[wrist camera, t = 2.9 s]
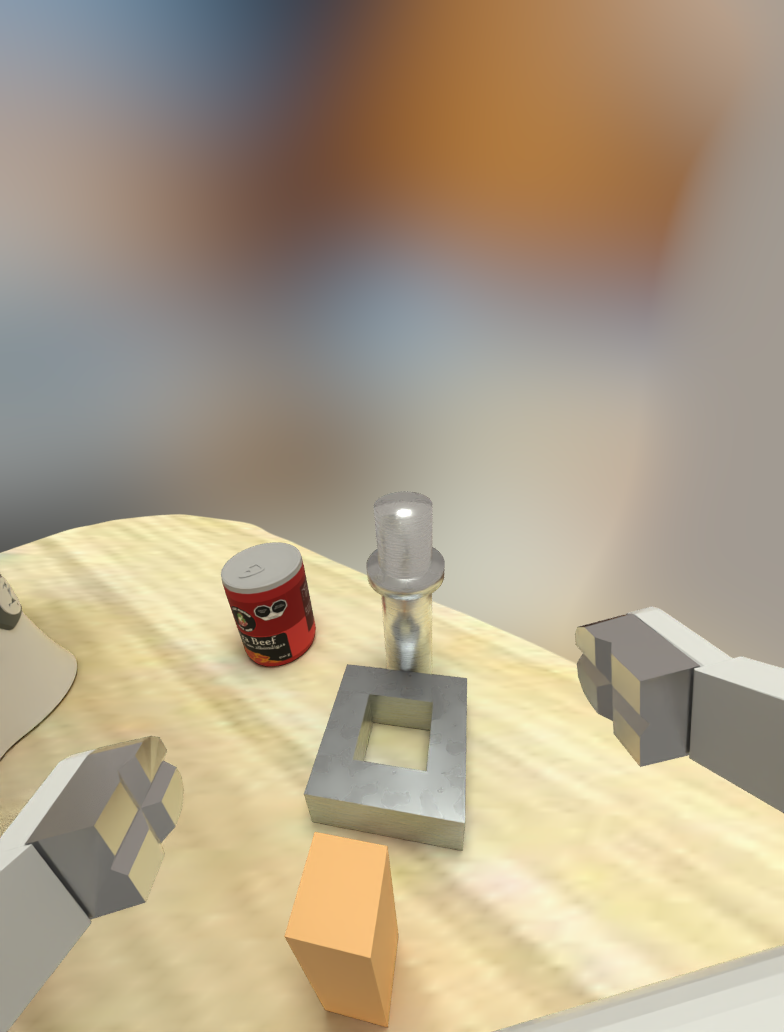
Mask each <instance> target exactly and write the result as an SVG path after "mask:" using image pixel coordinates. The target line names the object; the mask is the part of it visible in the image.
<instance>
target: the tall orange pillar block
mask: <svg viewBox="0 0 784 1032" xmlns="http://www.w3.org/2000/svg"><path fill="white" fill-rule="evenodd" d="M284 937H285V938H286V940H287V942H288V944H289V946H290V947H291V949H292V951H293V953H294V955H295V956H296V958H297V960H298V962H299V964H300V966H301V967H302V969H303V971H304V973H305V975H306V976H307V978H308V980H309V982H310V984H311V985H312V987H313V989H314V991H315V993H316V995H317V996H318V998H319V1000H320V1002H321V1004H322V1005H323V1007H324V1009H325V1010H327V1011H330V1012H334V1013H338V1014H341V1015H345V1016H348V1017H352V1018H355V1019H359V1020H363V1021H366V1022H370V1023H373V1024H377V1025H380V1026H384V1027H387V1028H388V1021H389V1012H390V1003H391V994H392V986H393V977H394V968H395V960H396V951H397V942H398V928H397V920H396V912H395V903H394V895H393V887H392V879H391V871H390V862H389V854H388V846H384V845H379V844H374V843H369V842H364V841H359V840H354V839H349V838H344V837H339V836H333V835H328V834H323V833H318V832H315V833H314V836H313V840H312V843H311V847H310V850H309V854H308V857H307V860H306V864H305V867H304V871H303V874H302V878H301V881H300V885H299V888H298V891H297V895H296V898H295V902H294V905H293V909H292V912H291V916H290V919H289V922H288V926H287V929H286V933H285V936H284Z"/></svg>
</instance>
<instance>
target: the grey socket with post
mask: <svg viewBox="0 0 784 1032" xmlns="http://www.w3.org/2000/svg"><path fill="white" fill-rule="evenodd" d="M374 514H375V525H376V537H377V549H376V550H375V551H374V552H373V553H372V554H371V555H370V556H369V558H368V560H367V576H368V582H369V584H370V586H371V587H372V588H373V589H374V590H375V591H376V592H377V593H379V594H380V595H381V600H382V612H383V624H384V637H385V649H386V661H387V669H383V668H374V667H365V666H357V665H348V664H347V667H346V670H345V673H344V676H343V679H342V682H341V685H340V688H339V691H338V694H337V697H336V700H335V703H334V706H333V709H332V712H331V715H330V718H329V721H328V724H327V727H326V730H325V733H324V736H323V739H322V742H321V745H320V748H319V751H318V754H317V757H316V760H315V763H314V766H313V769H312V772H311V775H310V778H309V781H308V784H307V787H306V790H305V793H304V796H305V799H306V802H307V805H308V808H309V812H310V815H311V818H312V821H313V822H317V823H322V824H327V825H332V826H337V827H343V828H348V829H353V830H358V831H363V832H368V833H374V834H379V835H384V836H389V837H394V838H400V839H405V840H410V841H415V842H420V843H425V844H431V845H436V846H441V847H446V848H451V849H456V850H462V851H463V840H464V829H465V788H466V715H467V678H460V677H451V676H443V675H434V674H432V593H433V592H434V591H436V590H437V589H438V588H439V587H440V586H441V584H442V582H443V580H444V559H443V556H442V555H441V554H440V552H439V551H438V550H436V549H435V548H433V547H432V502H431V500H430V499H429V498H428V497H426V496H424V495H422V494H419V493H415V492H395V493H391V494H387V495H384V496H382V497H381V498H379V499H378V500H377V501H376V502H375V504H374ZM373 722H375V723H382V724H389V725H396V726H403V727H410V728H417V729H424V730H431V731H430V741H429V752H428V763H427V771H421V770H415V769H408V768H402V767H396V766H390V765H384V764H377V763H371V762H365V761H364V758H365V753H366V749H367V745H368V740H369V736H370V732H371V727H372V723H373Z"/></svg>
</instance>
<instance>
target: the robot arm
mask: <svg viewBox="0 0 784 1032" xmlns="http://www.w3.org/2000/svg"><path fill="white" fill-rule="evenodd" d="M575 642H576V645H577V647H579V649H580V650H581V651H582V652H583V654H582V656H581V658H580V659H579V661H578V662H577V669H578V678H579V681H580V683H581V686H582V689H583V692H584V694H585V695H586V697H587V699H588V701H589V702H590V704H591V705H592V706H593V708H594V709H595V710H596V712H597V713H598V714H600V715H602V716H604V717H606V718H608V719H610V720H612V721H613V727H614V735H615V736H616V737H617V738H618V740H619V741H620V742H621V743H622V745H623V746H624V747H625V748H626V750H627V751H628V752H629V753H630V755H631V756H632V757H633V759H634V760H635V761H636V762H637V764H638V765H639V766H640V767H642V766H646V765H650V764H654V763H658V762H662V761H667V760H671V759H675V758H679V757H683V756H688V755H689V758H690V759H692V760H693V761H695V762H697V763H699V764H700V765H702V766H704V767H705V768H707V769H709V770H711V771H712V772H714V773H716V774H717V775H719V776H721V777H723V778H724V779H726V780H728V781H730V782H731V783H733V784H735V785H736V786H738V787H740V788H742V789H743V790H745V791H747V792H748V793H750V794H752V795H754V796H755V797H757V798H759V799H760V800H762V801H764V802H766V803H767V804H769V805H771V806H772V807H774V808H776V809H778V810H779V811H781V812H783V813H784V669H783V668H780V667H776V666H773V665H769V664H766V663H763V662H759V661H755V660H752V659H749V658H745V657H737V658H734V659H733V658H731V657H730V656H728V655H727V654H725V653H724V652H722V651H721V650H719V649H718V648H717V647H715V646H713V645H712V644H711V643H709V642H708V641H706V640H705V639H703V638H702V637H700V636H699V635H698V634H696V633H695V632H693V631H692V630H690V629H689V628H687V627H686V626H684V625H683V624H681V623H680V622H679V621H677V620H676V619H674V618H672V617H671V616H670V615H668V614H667V613H665V612H664V611H662V610H661V609H659V608H655V607H648V608H644V609H641V610H637V611H634V612H630V613H627V614H626V615H621V616H617V617H614V618H610V619H606V620H602V621H598V622H595V623H591V624H587V625H583V626H579V627H577V629H576V633H575ZM76 672H77V661H76V658H75V656H74V655H73V654H72V653H71V652H70V651H68V650H66V649H65V648H63V647H61V646H60V645H59V644H57V643H56V642H54V641H53V640H52V639H51V638H49V637H48V636H47V635H46V634H45V633H43V632H42V631H41V630H40V629H39V628H38V627H37V626H36V625H35V624H34V623H33V622H32V621H31V620H30V619H29V618H28V617H27V616H26V615H25V614H24V613H23V611H22V606H21V604H20V602H19V599H18V597H17V595H16V594H15V592H14V590H13V589H12V587H11V586H10V584H9V583H8V581H7V580H6V579H5V578H4V577H2V576H1V574H0V758H1V757H2V756H3V755H4V754H5V752H6V751H7V750H8V749H9V748H10V747H11V746H12V745H13V744H14V743H16V742H17V741H18V740H19V739H20V738H22V737H23V736H24V735H25V734H27V733H28V732H29V731H30V730H31V729H33V728H34V727H35V726H36V725H37V724H39V723H40V722H41V721H42V720H43V719H44V718H45V717H46V716H47V715H48V714H49V713H50V712H51V711H52V710H53V709H54V708H55V707H56V706H57V705H58V703H59V702H60V701H61V700H62V699H63V697H64V696H65V694H66V693H67V692H68V690H69V688H70V687H71V685H72V683H73V681H74V678H75V675H76ZM166 752H167V749H166V747H165V746H164V744H163V742H162V741H161V739H160V737H155V736H148V737H144V738H140V739H135V740H131V741H127V742H122V743H118V744H114V745H109V746H105V747H101V748H98V749H95V750H90V751H86V752H82V753H77V754H73V755H70V756H68V757H67V758H65V759H63V760H62V761H60V762H59V763H58V764H57V766H56V767H55V768H54V769H53V771H52V772H51V773H50V775H49V776H48V777H47V778H46V780H45V781H44V782H43V784H42V785H41V786H40V787H39V789H38V790H37V791H36V793H35V794H34V795H33V796H32V798H31V799H30V800H29V802H28V803H27V804H26V805H25V807H24V808H23V809H22V811H21V812H20V813H19V814H18V816H17V817H16V818H15V820H14V821H13V822H12V823H11V825H10V826H9V827H8V829H7V830H6V831H5V832H4V834H3V835H2V836H1V838H0V1032H7V1031H8V1030H9V1029H10V1027H11V1026H12V1025H13V1023H14V1022H15V1021H16V1020H17V1018H18V1017H19V1016H20V1014H21V1013H22V1012H23V1010H24V1009H25V1008H26V1007H27V1005H28V1004H29V1003H30V1001H31V1000H32V999H33V998H34V996H35V995H36V994H37V992H38V991H39V990H40V989H41V987H42V986H43V985H44V983H45V982H46V981H47V980H48V978H49V977H50V976H51V974H52V973H53V972H54V970H55V969H56V968H57V967H58V965H59V964H60V963H61V961H62V960H63V959H64V958H65V956H66V955H67V954H68V952H69V951H70V950H71V949H72V947H73V946H74V945H75V943H76V942H77V941H78V940H79V938H80V937H81V936H82V934H83V933H84V932H85V930H86V929H87V928H88V927H89V925H90V924H91V922H92V921H91V920H90V919H93V918H97V917H100V916H103V915H106V914H110V913H113V912H116V911H119V910H123V909H126V908H129V907H132V906H136V905H139V904H142V903H145V902H146V901H147V898H148V896H149V893H150V891H151V888H152V885H153V883H154V880H155V878H156V875H157V873H158V870H159V868H160V865H161V863H162V860H163V857H164V851H163V847H162V844H161V842H162V841H163V840H164V839H165V838H166V837H167V836H168V834H169V833H170V832H171V831H172V830H173V829H174V828H175V826H176V824H177V821H178V818H179V816H180V813H181V810H182V804H183V794H184V788H183V783H182V777H181V775H180V773H179V771H178V769H177V767H175V766H173V765H171V764H169V763H167V762H165V761H164V758H165V755H166ZM493 1032H784V944H783V945H780V946H776V947H773V948H770V949H766V950H763V951H760V952H756V953H753V954H750V955H746V956H743V957H740V958H736V959H733V960H730V961H726V962H723V963H720V964H716V965H713V966H710V967H706V968H703V969H699V970H696V971H693V972H689V973H686V974H683V975H679V976H676V977H673V978H669V979H666V980H663V981H659V982H656V983H653V984H649V985H646V986H643V987H639V988H636V989H633V990H629V991H626V992H623V993H619V994H616V995H613V996H609V997H606V998H603V999H599V1000H596V1001H593V1002H589V1003H586V1004H583V1005H579V1006H576V1007H573V1008H569V1009H566V1010H563V1011H559V1012H556V1013H553V1014H549V1015H546V1016H543V1017H539V1018H536V1019H533V1020H529V1021H526V1022H523V1023H519V1024H516V1025H513V1026H509V1027H506V1028H503V1029H499V1030H496V1031H493Z"/></svg>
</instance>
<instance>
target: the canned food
mask: <svg viewBox="0 0 784 1032" xmlns="http://www.w3.org/2000/svg"><path fill="white" fill-rule="evenodd" d="M221 577H222V583H223V586H224V589H225V593H226V596H227V599H228V601H229V604H230V607H231V610H232V613H233V616H234V619H235V622H236V625H237V628H238V631H239V633H240V636H241V639H242V642H243V645H244V648H245V651H246V653H247V654H248V656H249V657H250V658H251V659H252V660H253V661H254V662H256V663H258V664H260V665H263V666H280V665H283V664H287V663H289V662H291V661H294V660H295V659H297V658H299V657H300V656H301V655H303V654H304V653H305V652H306V651H307V650H308V649H309V647H310V646H311V644H312V642H313V639H314V636H315V629H316V627H315V621H314V616H313V611H312V606H311V601H310V596H309V590H308V585H307V580H306V575H305V570H304V565H303V561H302V557H301V554H300V552H299V550H298V549H297V548H296V547H294V546H292V545H290V544H286V543H265V544H260V545H256V546H253V547H250V548H248V549H245V550H243V551H241V552H239V553H238V554H236V555H235V556H233V557H232V558H231V559H230V560H229V561H227V563H226V564H225V565H224V567H223V569H222V572H221Z"/></svg>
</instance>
